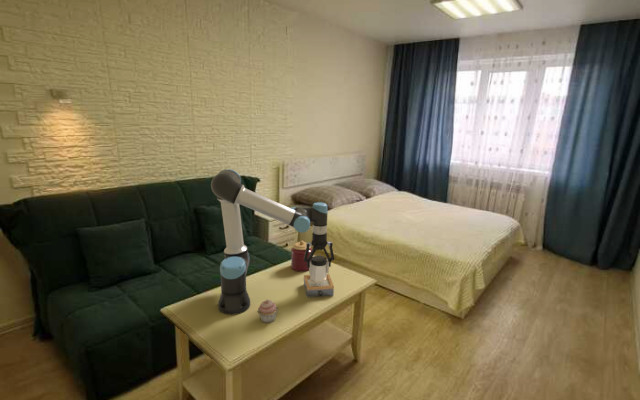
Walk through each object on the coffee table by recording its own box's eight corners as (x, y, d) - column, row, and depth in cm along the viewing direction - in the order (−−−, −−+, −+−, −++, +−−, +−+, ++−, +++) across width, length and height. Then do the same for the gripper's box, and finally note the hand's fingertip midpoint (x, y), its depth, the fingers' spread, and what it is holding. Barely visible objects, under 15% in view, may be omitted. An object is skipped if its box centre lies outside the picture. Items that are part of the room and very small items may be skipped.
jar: (329, 280, 176) (330, 259, 173) (317, 284, 171) (318, 263, 168) (319, 274, 183) (319, 254, 180) (307, 278, 178) (307, 257, 175)
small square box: (307, 298, 170) (307, 288, 169) (303, 284, 184) (304, 275, 183) (333, 296, 172) (334, 286, 171) (328, 283, 186) (328, 274, 185)
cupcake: (253, 319, 151) (252, 299, 149) (269, 311, 158) (269, 292, 155) (266, 328, 145) (266, 307, 143) (282, 319, 152) (282, 299, 149)
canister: (303, 261, 214) (303, 235, 210) (316, 268, 205) (316, 241, 201) (286, 266, 206) (287, 239, 202) (299, 274, 197) (299, 246, 192)
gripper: (299, 235, 166) (299, 276, 171) (341, 234, 169) (339, 274, 174) (298, 230, 173) (298, 270, 178) (338, 229, 176) (337, 268, 181)
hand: (318, 272), depth 176 cm, fingers closed on jar, 9 cm apart
